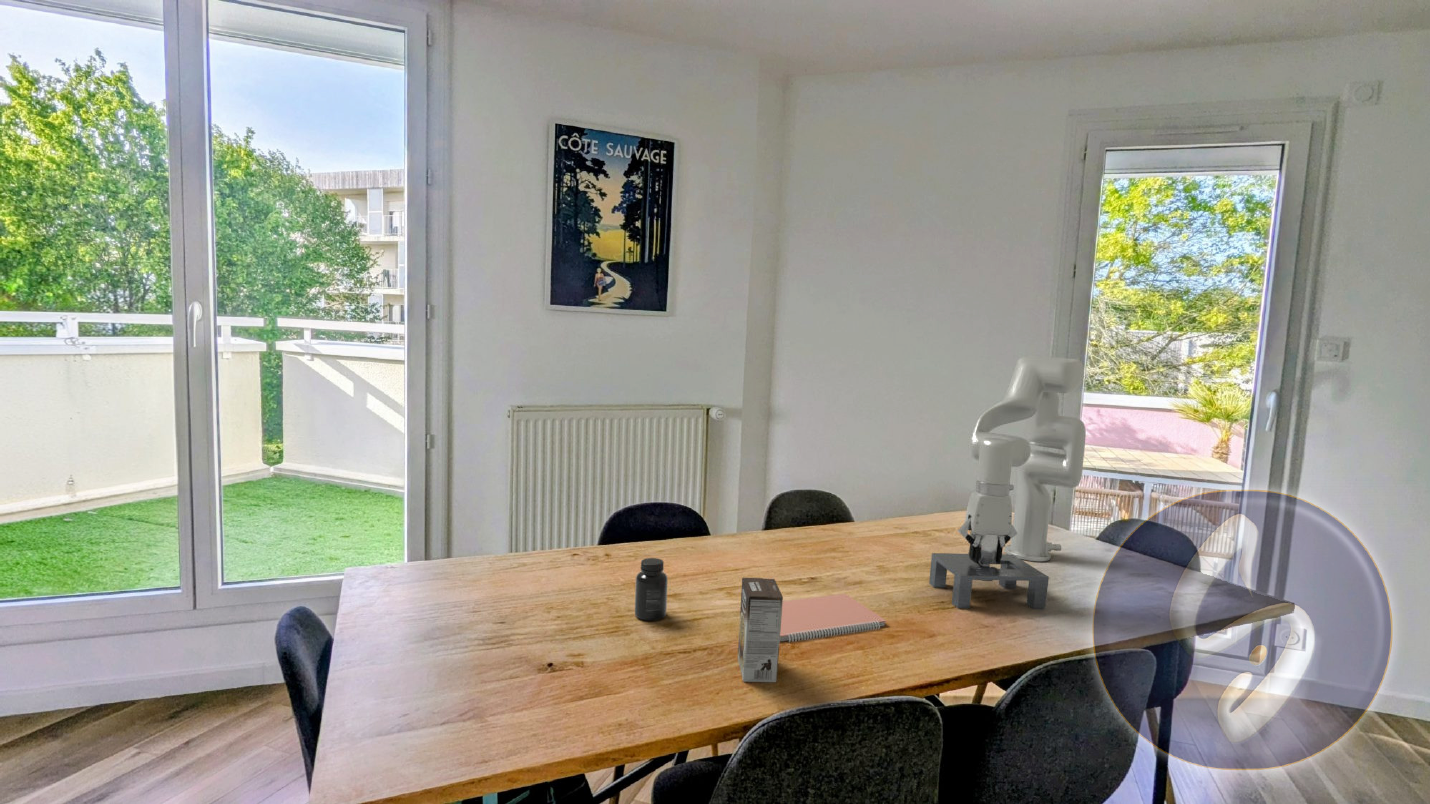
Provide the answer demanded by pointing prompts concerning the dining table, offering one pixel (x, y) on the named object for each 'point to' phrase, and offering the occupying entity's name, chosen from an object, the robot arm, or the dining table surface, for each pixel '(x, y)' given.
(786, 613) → the notebook
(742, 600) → the coffee box
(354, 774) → the dining table surface
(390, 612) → the dining table surface
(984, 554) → the peg
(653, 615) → the supplement bottle
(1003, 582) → the grey windowed bracket
